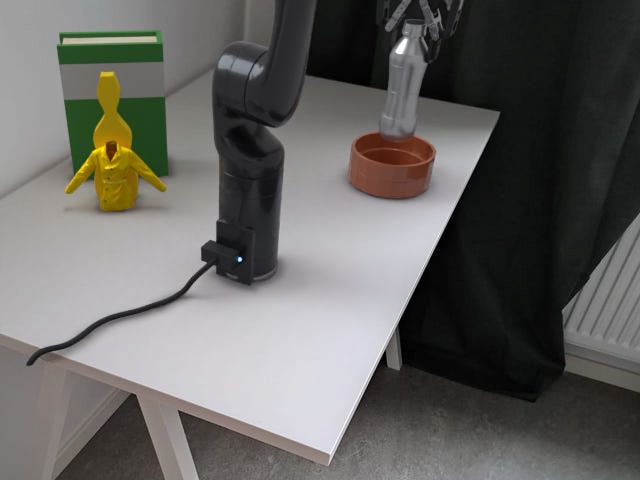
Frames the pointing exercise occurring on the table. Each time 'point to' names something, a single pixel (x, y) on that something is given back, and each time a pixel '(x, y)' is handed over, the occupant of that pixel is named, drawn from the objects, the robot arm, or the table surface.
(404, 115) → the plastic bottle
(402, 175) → the bowl
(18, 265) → the table surface
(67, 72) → the hardback book
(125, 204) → the yellow jacket
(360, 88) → the table surface
